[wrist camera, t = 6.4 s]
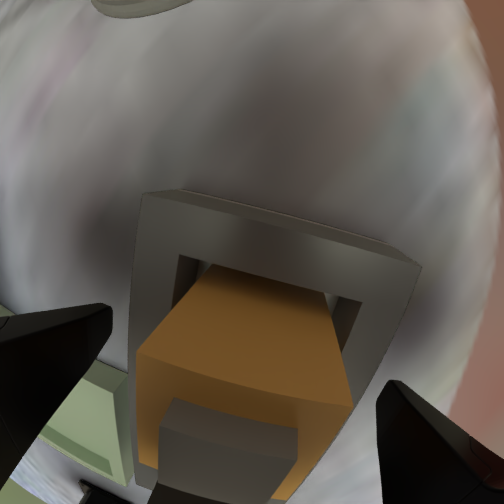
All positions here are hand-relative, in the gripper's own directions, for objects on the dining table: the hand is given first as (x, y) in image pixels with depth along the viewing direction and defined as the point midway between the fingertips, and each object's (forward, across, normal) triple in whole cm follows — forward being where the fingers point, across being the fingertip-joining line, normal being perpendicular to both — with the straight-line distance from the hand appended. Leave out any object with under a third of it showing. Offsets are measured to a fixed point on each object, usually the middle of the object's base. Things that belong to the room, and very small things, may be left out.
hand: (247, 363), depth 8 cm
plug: (+3, 0, 0) cm, 3 cm away
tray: (+3, +11, +11) cm, 16 cm away
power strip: (+3, 0, +4) cm, 5 cm away
